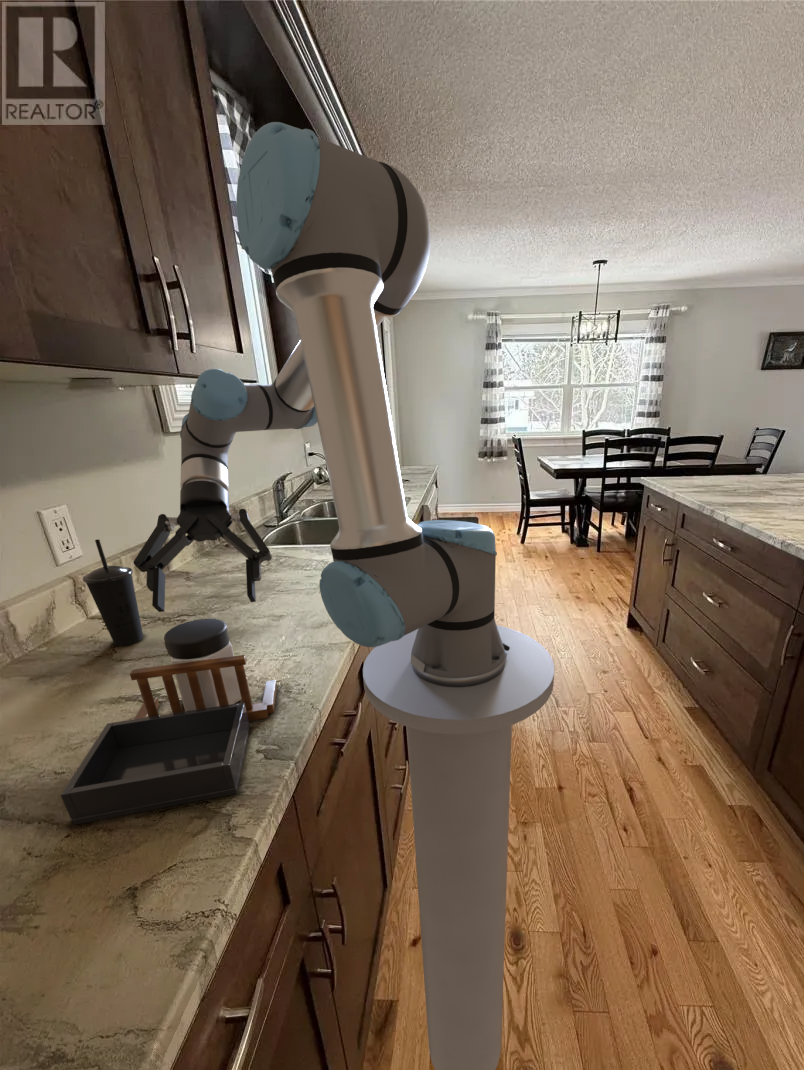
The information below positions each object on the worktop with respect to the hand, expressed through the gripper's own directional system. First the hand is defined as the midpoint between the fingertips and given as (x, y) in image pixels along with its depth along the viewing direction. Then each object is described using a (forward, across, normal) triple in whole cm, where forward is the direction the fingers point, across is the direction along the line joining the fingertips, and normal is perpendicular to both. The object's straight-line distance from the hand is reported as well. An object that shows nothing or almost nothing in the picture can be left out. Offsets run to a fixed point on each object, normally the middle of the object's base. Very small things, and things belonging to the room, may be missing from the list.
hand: (205, 603), depth 76 cm
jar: (+15, 0, -3) cm, 15 cm away
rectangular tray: (+25, +2, +8) cm, 27 cm away
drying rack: (+17, 0, -1) cm, 17 cm away
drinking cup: (-4, +20, -22) cm, 30 cm away
